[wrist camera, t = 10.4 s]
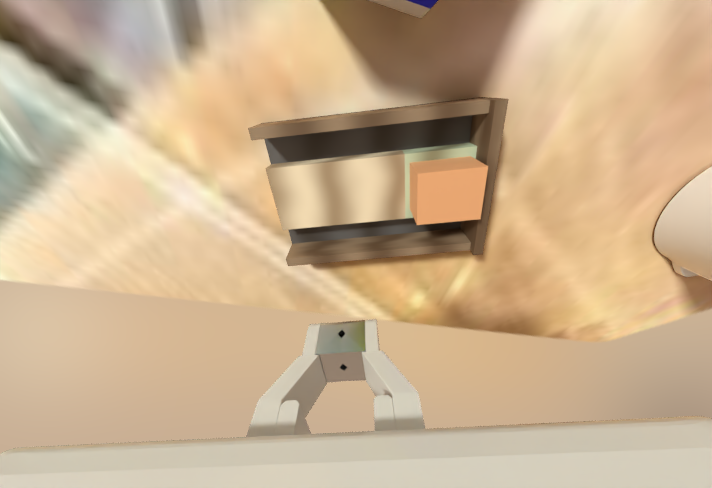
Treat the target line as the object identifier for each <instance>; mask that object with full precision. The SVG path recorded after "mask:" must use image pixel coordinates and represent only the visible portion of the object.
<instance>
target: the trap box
mask: <svg viewBox="0 0 712 488" xmlns="http://www.w3.org/2000/svg"><path fill="white" fill-rule="evenodd" d="M507 104H508V99H501V98H486V97H481V98H472V99H464V100H456V101H447V102H439V103H430V104H422V105H413V106H405V107H396V108H388V109H379V110H371V111H362V112H354V113H345V114H337V115H328V116H320V117H311V118H303V119H294V120H286V121H277V122H269V123H262V124H259V125H256V126H253V127H251V128H248V130H249V133H250V137H251V140H259V139H265V143H266V147H267V150H268V154H269V158H270V162H271V165H270V166H269V167H268V168H266V172H267V176H268V179H269V183H270V186H271V190H272V193H273V197H274V201H275V204H276V208H277V211H278V215H279V219H280V222H281V226H282V229H283V230H289V233H290V237H291V241H292V246H291V248H290V251H289V253H288V255H287V258H286V261H287V264H288V266H295V265H307V264H318V263H330V262H341V261H353V260H364V259H375V258H387V257H398V256H410V255H421V254H432V253H444V252H455V251H467V250H470V251H471V252H472V254H473V255H479V254H483V249H484V243H485V237H486V231H487V225H488V219H489V213H490V207H491V201H492V195H493V189H494V183H495V177H496V171H497V165H498V159H499V153H500V146H501V140H502V134H503V128H504V122H505V116H506V110H507ZM467 156H471V157H473V158H475V159H477V160H478V161H480V162H482V163H483V164H485V165H487V166H488V172H487V178H486V185H485V192H484V199H483V205H482V212H481V219H477V220H466V221H456V222H445V223H435V224H424V225H417V224H416V222H415V220H414V217H413V215H412V213H411V211H410V163H411V162H420V161H430V160H439V159H448V158H458V157H467Z"/></svg>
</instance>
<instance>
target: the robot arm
mask: <svg viewBox="0 0 712 488" xmlns="http://www.w3.org/2000/svg"><path fill="white" fill-rule="evenodd" d="M654 242H655V245H656V248H657V249H658V251H659V252H660V253H661V254H662V255H664V256H665V257H667V258H669V259H670V260H671V261H672V265H673V268H674V271H675V272H676V273H678V274H680V275H682V276H685V277H692V276H697V275H700V276H702V277H704V278H706V279H708V280H710V281H712V166H711V167H710V168H708V169H707V170H705V171H704V172H702V173H701V174H699V175H698V176H697V177H695V178H694V179H693V180H691V181H690V182H689V183H688V184H687V185H686V186H684V187H683V188H682V189H681V190H680V191H679V192H678V193H677V194H676V195H675V196H674V198H673V199H672V200H671V201H670V202H669V204H668V205H667V206H666V208H665V209H664V211H663V212H662V214H661V216H660V218H659V220H658V222H657V225H656V228H655V232H654ZM352 380H353V381H354V380H366V382H367V383H368V385H369V386H370V388H371V390H372V391H373V393H374V395H375V396H376V397H375V399H374V419H375V431H368V432H348V433H347V432H345V433H323V434H311V432H310V430H309V427H308V425H307V422H306V419H305V417H306V416H307V414H308V413H309V411H310V410H311V408H312V406H313V405H314V403H315V402H316V400H317V398H318V397H319V395H320V394H321V392H322V390H323V389H324V387H325V386H326V384H327V383H326V382H337V381H352ZM0 488H712V418H708V417H702V416H688V417H687V416H686V417H668V418H647V419H626V420H605V421H584V422H563V423H541V424H522V425H521V424H520V425H499V426H478V427H455V428H434V429H425V425H424V420H423V415H422V410H421V405H420V400H419V395H418V392H417V391H416V390H415V388H414V387H413V386H412V385H411V384H410V383H409V381H408V380H407V379H406V378H405V377H404V376H403V374H402V373H401V372H400V371H399V370H398V368H397V367H396V366H395V365H394V364H393V362H391V360H390V359H389V358H388V357H387V355H385V353H384V352H383V351H380V349H379V338H378V328H377V320H376V319H374V320H361V321H349V322H338V323H321V324H310V325H309V327H308V331H307V335H306V340H305V345H304V350H303V354H302V356H299V357H298V358H297V359H296V360H295V361H294V362H293V363H292V364H291V365H290V366H289V368H288V369H287V370H286V371H285V372H284V373H283V374H282V375H281V376H280V377H279V378H278V380H277V381H276V382H275V383H274V384H273V385H272V386H271V387H270V388H269V390H268V391H267V392H266V393H265V394H264V395H263V396H262V397H261V398H260V399H259V401H258V403H257V406H256V409H255V412H254V415H253V418H252V421H251V424H250V427H249V430H248V433H247V436H246V437H237V438H216V439H197V440H196V439H195V440H194V439H193V440H172V441H150V442H129V443H107V444H85V445H63V446H41V447H22V448H14V449H11V450H7V451H5V452H3V453H1V454H0Z"/></svg>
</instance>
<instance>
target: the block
mask: <svg viewBox="0 0 712 488" xmlns="http://www.w3.org/2000/svg"><path fill="white" fill-rule="evenodd" d="M487 172H488V166H487V165H485V164H483V163H482V162H480V161H478V160H477V159H475V158H473V157H471V156H467V157H458V158H448V159H439V160H430V161H420V162H411V163H410V211H411V213H412V215H413V217H414V220H415V222H416V224H417V225H424V224H435V223H445V222H456V221H466V220H477V219H481V212H482V205H483V199H484V192H485V185H486V178H487Z"/></svg>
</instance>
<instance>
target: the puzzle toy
mask: <svg viewBox="0 0 712 488" xmlns="http://www.w3.org/2000/svg"><path fill="white" fill-rule="evenodd" d="M368 1H371V2H374V3H377V4H380V5H383V6H386V7H389V8H392V9H394V10H397V11H400V12H403V13H406V14H409V15H412V16H415V17H418V18H422V17H423V16H424V15H425V14H426V13H427V12H428V11H429V10H430V9H431V8H432V7H433V6H434V5H435V3H436V2H437V1H438V0H368Z"/></svg>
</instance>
